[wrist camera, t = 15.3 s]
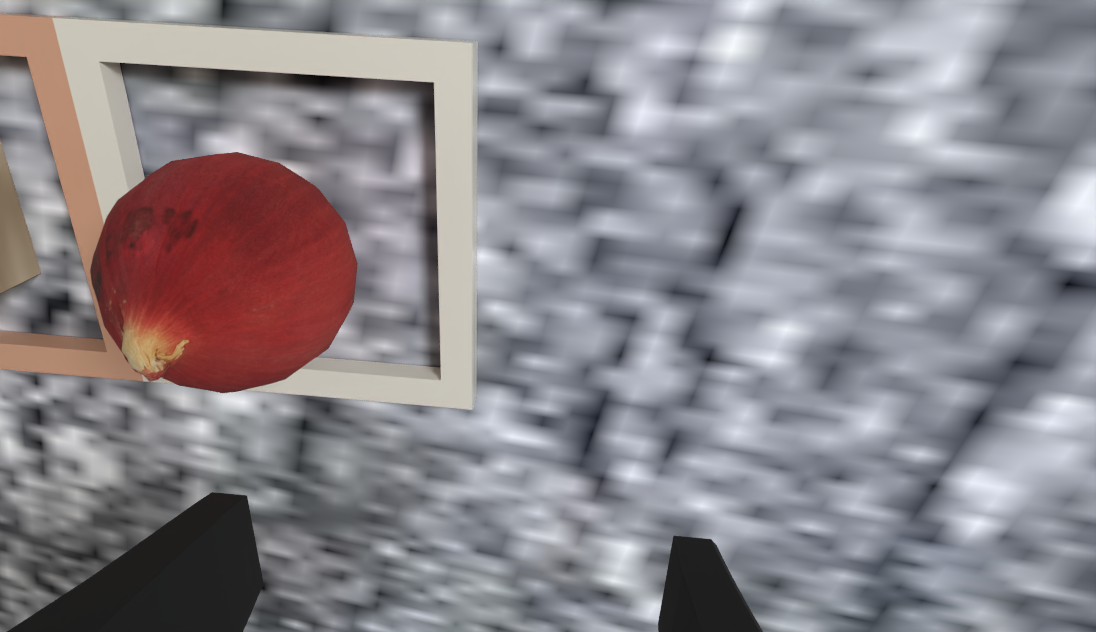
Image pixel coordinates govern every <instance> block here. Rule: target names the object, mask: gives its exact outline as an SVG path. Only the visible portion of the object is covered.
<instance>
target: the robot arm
mask: <svg viewBox="0 0 1096 632" xmlns="http://www.w3.org/2000/svg"><path fill="white" fill-rule="evenodd" d="M262 586H263V579H262V574H261V569H260V563H259V558H258V553H257V547H256V542H255V537H254V531H253V526H252V521H251V515H250V510H249V505H248V500H247V496H245V495H234V494H224V493H213V492H212V493H210V494H209V495H207V496H206V497H204V498H203V499H201V500H200V501H198V502H197V503H195V504H194V505H193V506H191V507H190V508H188V509H187V510H185V511H184V512H183V513H181V514H180V515H178V516H177V517H175V518H174V519H173V520H171V521H170V522H168V523H167V524H166V525H164V526H163V527H161V528H160V529H159V530H157V531H156V532H154V533H153V534H152V535H150V536H149V537H147V538H146V539H145V540H143V541H142V542H140V543H139V544H138V545H136V546H135V547H133V548H132V549H130V550H129V551H128V552H126V553H125V554H123V555H122V556H120V557H119V558H118V559H116V560H115V561H113V562H112V563H110V564H109V565H107V566H106V567H105V568H103V569H102V570H100V571H99V572H97V573H96V574H95V575H93V576H92V577H90V578H89V579H87V580H86V581H84V582H83V583H81V584H80V585H78V586H77V587H75V588H74V589H72V590H71V591H69V592H68V593H66V594H64V595H63V596H61V597H60V598H58V599H57V600H55V601H54V602H52V603H51V604H49V605H48V606H46V607H44V608H43V609H41V610H40V611H38V612H37V613H35V614H34V615H32V616H31V617H29V618H28V619H26V620H24V621H23V622H21V623H20V624H18V625H17V626H15V627H14V628H12V629H11V630H9V631H7V632H243V630H244V628H245V626H246V623H247V621H248V619H249V617H250V614H251V612H252V610H253V607H254V605H255V602H256V600H257V598H258V595H259V593H260V590H261V588H262ZM658 630H659V632H763V631H762V629H761V628H760V626H759V624H758V623H757V621H756V619H755V617H754V616H753V614H752V612H751V610H750V609H749V607H748V605H747V603H746V601H745V600H744V598H743V596H742V594H741V592H740V591H739V589H738V587H737V585H736V583H735V581H734V579H733V578H732V576H731V574H730V572H729V570H728V568H727V566H726V564H725V562H724V560H723V558H722V556H721V554H720V552H719V550H718V547H717V545H716V544H715V543H714V542H713V541H712V540H711V539H702V538H692V537H681V536H673V542H672V548H671V554H670V559H669V565H668V571H667V576H666V582H665V588H664V593H663V599H662V605H661V611H660V616H659V622H658Z"/></svg>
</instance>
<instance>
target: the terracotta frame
mask: <svg viewBox="0 0 1096 632" xmlns="http://www.w3.org/2000/svg"><path fill="white" fill-rule="evenodd" d="M52 18H65V17H63V16H46V15H29V14H13V13H0V55H5V56H21V57H27V60H28V64H29V68H30V71H31V75H32V79H33V82H34V86H35V90H36V93H37V97H38V101H39V104H40V108H41V112H42V115H43V119H44V123H45V126H46V130H47V134H48V137H49V141H50V145H51V148H52V152H53V156H54V159H55V163H56V167H57V170H58V174H59V178H60V181H61V185H62V189H63V192H64V196H65V200H66V203H67V207H68V211H69V214H70V218H71V222H72V225H73V229H74V233H75V236H76V240H77V244H78V247H79V251H80V255H81V258H82V262H83V266H84V269H85V273H86V277H87V280H88V284H89V288H90V291H91V295H92V299H93V302H94V306H95V310H96V313H97V317H98V321H99V324H100V328H101V332H102V335H103V339H93V338H81V337H69V336H57V335H45V334H33V333H21V332H9V331H0V369H7V370H18V371H30V372H42V373H53V374H65V375H76V376H88V377H100V378H111V379H123V380H134V381H143V377H142V374H140V373H137V372H135V371H134V369H133V368H132V367H131V365H130V364H129V363H128V362H127V361H126V359H125V357H124V355H123V353H122V352H121V351H120V349H119V348H118V346H117V345H116V343H115V342H114V340H113V339H112V337H111V336H110V334H109V333H108V331H107V330H106V328H105V327H104V323H103V320H102V316H101V312H100V309H99V305H98V302H97V298H96V295H95V292H94V289H93V286H92V281H91V273H90V269H91V264H92V259H93V255H94V252H95V249H96V246H97V243H98V241H99V238H100V235H101V232H102V229H103V226H104V222H103V218H102V214H101V210H100V206H99V202H98V198H97V194H96V190H95V186H94V182H93V178H92V174H91V170H90V166H89V162H88V158H87V154H86V150H85V146H84V142H83V138H82V134H81V130H80V126H79V122H78V118H77V114H76V111H75V107H74V103H73V99H72V95H71V91H70V87H69V83H68V79H67V75H66V71H65V67H64V63H63V59H62V55H61V51H60V47H59V43H58V39H57V35H56V31H55V27H54V23H53V19H52Z"/></svg>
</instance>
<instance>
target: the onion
mask: <svg viewBox="0 0 1096 632" xmlns="http://www.w3.org/2000/svg"><path fill="white" fill-rule="evenodd" d="M90 273H91V281H92V286H93V289H94V292H95V295H96V298H97V302H98V305H99V309H100V312H101V316H102V320H103V323H104V327H105V328H106V330H107V331H108V333H109V334H110V336H111V337H112V339H113V340H114V342H115V343H116V345H117V346H118V348H119V349H120V351H121V352H122V353H123V355H124V357H125V359H126V361H127V362H128V363H129V364H130V365H131V367H132V368H133V369H134V371H135V372H137V373H140V374H142V375H144V376H145V377H146V378H147V380H148V381H149V382H151V381H155V380H158V379H159V378H163V379H166V380H168V381H170V382H172V383H175V384H177V385H180V386H186V387H192V388H198V389H204V390H210V391H215V392H220V393H228V392H237V391H241V390H246V389H250V388H255V387H259V386H264V385H268V384H272V383H275V382H278V381H282V380H285V379H286V378H288V377H289V376H291V375H292V374H293V373H295V372H296V371H298V370H299V369H300V368H302V367H303V366H305V365H306V364H307V363H309V362H310V361H312V360H313V359H314V358H316V357H317V356H319V355H320V354H321V353H323V352H324V351H326V350H327V349H328V348H329V347H330V345H331V343H332V341H333V340H334V338H335V336H336V334H337V333H338V331H339V329H340V327H341V325H342V324H343V322H344V320H345V318H346V317H347V315H348V313H349V311H350V309H351V307H352V305H353V303H354V294H355V283H356V273H357V261H356V258H355V254H354V251H353V247H352V244H351V241H350V237H349V234H348V230H347V227H346V224H345V222H344V220H343V219H342V218H341V217H340V215H339V214H338V213H337V212H336V210H335V209H334V208H333V207H332V206H331V204H330V203H329V202H328V201H327V199H326V198H325V197H324V195H323V194H322V193H321V191H320V190H319V189H318V188H317V187H316V186H314V185H313V184H311V183H310V182H308V181H307V180H305V179H303V178H302V177H300V176H299V175H297V174H296V173H294V172H293V171H291V170H290V169H288V168H286V167H285V166H283V165H281V164H280V163H277V162H273V161H269V160H265V159H262V158H258V157H254V156H250V155H246V154H242V153H238V152H234V153H224V154H215V155H208V156H202V157H195V158H189V159H182V160H175V161H171V162H169V163H168V164H166V165H164V166H163V167H161V168H160V169H158V170H156V171H155V172H153V173H152V174H151V175H149V176H148V177H147V178H145V179H144V180H143V181H141V182H140V183H139V184H138V185H136V186H135V187H134V188H132V189H131V190H130V191H129V192H127V193H126V194H125V195H123V196H122V197H121V198H120V199H118V200H117V202H116V203H115V205H114V206H113V208H112V209H111V211H110V212H109V214H108V216H107V218H106V220H105V223H104V226H103V229H102V232H101V235H100V238H99V241H98V243H97V246H96V249H95V252H94V255H93V259H92V264H91V269H90Z"/></svg>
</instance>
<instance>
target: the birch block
mask: <svg viewBox="0 0 1096 632" xmlns="http://www.w3.org/2000/svg"><path fill="white" fill-rule="evenodd" d="M38 274H41V270H40V267H39V264H38V260H37V257H36V254H35V251H34V247H33V244H32V241H31V238H30V234H29V231H28V228H27V225H26V222H25V218H24V215H23V212H22V209H21V205H20V202H19V199H18V196H17V192H16V189H15V186H14V183H13V179H12V176H11V173H10V170H9V166H8V163H7V160H6V157H5V153H4V150H3V147H2V144H1V140H0V293H2V292H4V291H6V290H8V289H10V288H12V287H14V286H16V285H18V284H20V283H22V282H24V281H26V280H28V279H30V278H32V277H34V276H36V275H38Z"/></svg>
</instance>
